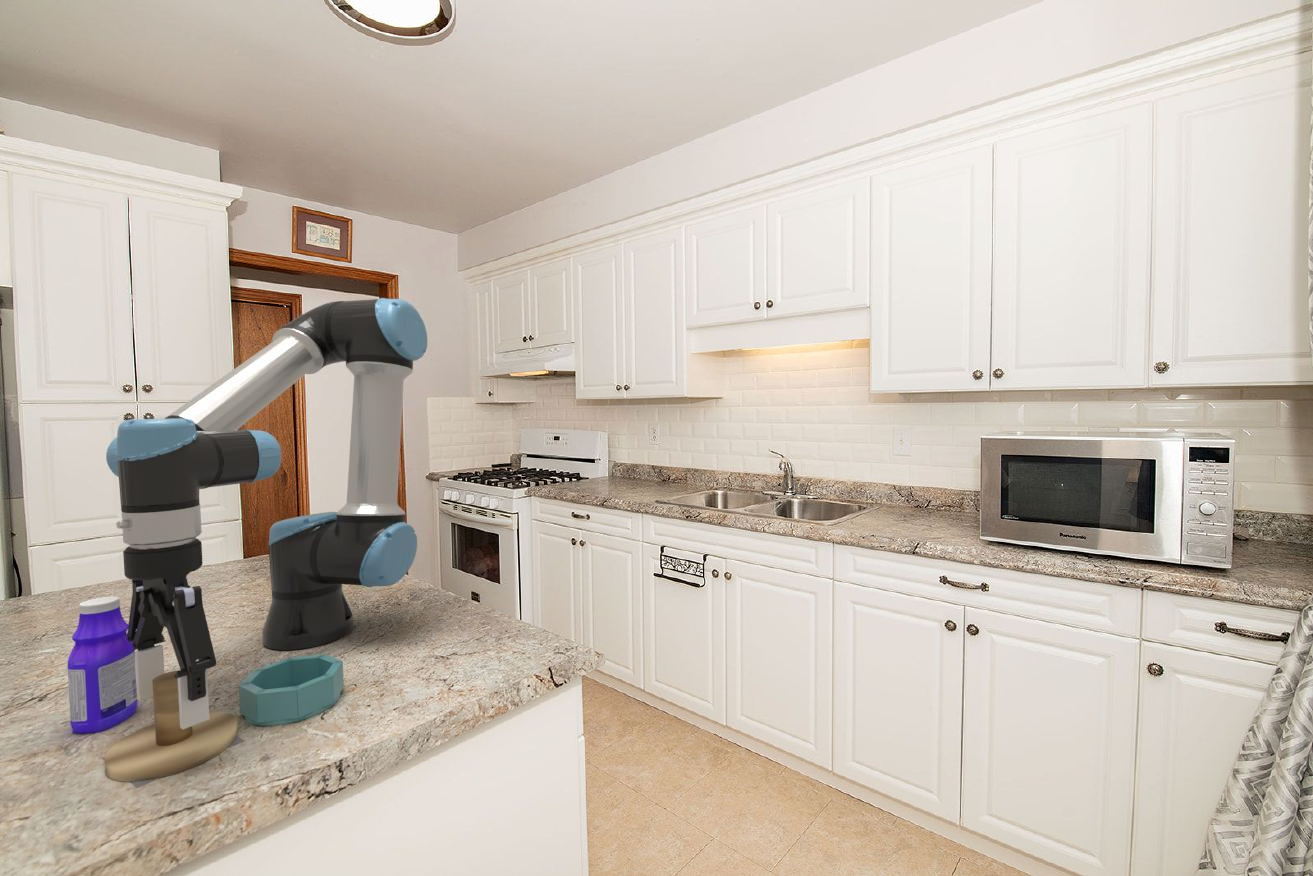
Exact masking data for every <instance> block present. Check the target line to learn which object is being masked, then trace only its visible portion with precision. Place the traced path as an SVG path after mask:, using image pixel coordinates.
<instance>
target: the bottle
mask: <svg viewBox="0 0 1313 876" xmlns="http://www.w3.org/2000/svg"><path fill="white" fill-rule="evenodd" d="M78 607H79V609H78V615H79V618H78V623H77V628H76V630H75V632H74V633H73V634H72V636H71V639H72V640H73V642H74V645H73V647H72V649H71V651H70V654H69V656H68V660H67V678H68V697H69V699H68V700H69V715H70V716H69V717H70V721H69V723H70V727H71V729H72V731H73V732H74V733H76V734H90V733H91V734H93V733H98V732H102V731H105V730H109V729H111V728H113V727H115V726H117V725H119V724H121V723H122V722H124V721H126V720H127V719H129V718H130V717H132V715H134V713H135V712H136V710H137V707H138V695H137V678H136V660H135V652H136V650H134V648H133V647H132V643H133V642H128V640H127V632H128V625H129V623H128V622H126V620H125V619H124V617H123V615H122V612H121V604H120V597H119V596H103V597H96V598H93V599H89V600H85V601H82V602H80V603H79V605H78Z"/></svg>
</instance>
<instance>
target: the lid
mask: <svg viewBox="0 0 1313 876" xmlns="http://www.w3.org/2000/svg"><path fill="white" fill-rule="evenodd" d="M180 670H181V669H179V670H173V671H169V672H164V674H162V675H159V676H157V677H155V678H154V679H153V680H152V684H153V698H152V699H153V701H152V702H153V715H154V723H152V724H150V725H148V726H144V727H143V728H141V729H137V730H136V731H134V732H131V734H128V735H126V736H125V737H123V738H121V739H120V740H119V741H117V742H116V743H115V744H114V745H112V746H111V747H110V748H109V749H108V751H107V752H106V754H105V755H104V757H105V760H104V768H105V770H104V771H105V774H106V776H107V778H109V779H110V780H112V781H117V782H122V783H123V782H127V783H131V782H134V781H144V780H151V779H156V778H159V779H160V778H164V777H168V776H172V775H175V774H178V773H181V772H184V771H187V770H189V769H192V768H195V767H197V766H199V765H201V764H203V763H206V762H207V761H210V760H211V759H213V758H214V757H216V756H218V755H219V754H221V753H223V752H224V751H225V750H227V749H228V748H227V747H229V746H230V745H231V744H232V743H233V742H234V740H235V739H236V737H237V736H238V735H239V734H238V732H239V730H238V719H237V718H236V716H235V715H233V714H232V713H230V712H225V711H218V710H217V711H216V710H214V711H211V710H209V719H208V720H206V721H203V722H201V723H198V724H196V725H193V726H191V727H188V728H185V729H181V728H180V714H179V696H178V678H177V679H176V678H175V677H174V675H175V674H176V672H177V671H180ZM226 748H227V749H226ZM156 780H157V779H156Z"/></svg>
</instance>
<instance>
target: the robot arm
mask: <svg viewBox="0 0 1313 876" xmlns="http://www.w3.org/2000/svg"><path fill="white" fill-rule="evenodd" d="M427 348H428V333H427V329H426V325H425V323H424V320H423V318H422V317H421V314H420V312H419V311H418V310H417V309H416V307H414V305H412V303H409V302H408V301H406V300H404V299H401V298H400V299H399V298H386V297H380V298H378V299H377V298H376V299H359V300H357V299H356V300H340V301H339V300H338V301H337V300H336V301H330V302H327V303H323V304H321V305H319V306H316V307H314V308H312V309H310V310H309V311H307V312H305V313H303V314H301V315H299V316H298V317H296V318H295V319H293V320H291V321H290V322H288V323H286V324H285V325H283V326H282V327H281V328H280V329H279V328H278V330H276V331H275V332H274V333H273V336H272V339H271V342H270V343H269V344H268V345H266V346H264V347H263V348H262V349H260V350H259V351H258V352H256V353H255V354H253V355H252V356H251V357H249V358H248V359H246V360H245V361H244V362H243V363H241V364H239V365H238V366H237V367H235V368H234V369H232V370H231V371H229V372H228V373H226V374H225V375H224V376H223V377H221V378H219V380H217V381H215V382H214V383H212V384H211V385H210V386H208V387H207V388H206V389H204V390H203V391H202V392H200V393H198V394H197V395H196V396H195V397H193V398H192V399H190V400H189V401H187V402H186V403H185V404H183V405H181V406H180V407H178V408H177V409H176V410H175V411H173V412H172V413H170V414H168V416H166V417H164V418H132V419H126V420H123V421H122V422H121V423H120V424H119V425H118V428H117V435H116V437H115V438H114V439H112V440H111V442H110V443H109V445H108V447H107V450H106V453H105V456H106V457H105V458H106V459H105V460H106V464H107V467H108V469H109V470H111V473H112V474H114V475H115V476H116V477H118V483H119V484H118V486H119V498H120V499H119V500H120V510H121V519H122V520H119V521H117V522H116V524H115V525H116V528H117V529H119V530H122V541H123V543H124V544H126V545H128V546H127V547H126V548H125V549H124V550H123V552H122V554H123V556H122V557H123V571H124V576H125V578H127V579H129V580H131V583H132V584H131V586H132V593H131V600H130V601H131V602H130V610H129V616H128V617H129V618H128V629H127V631H126V633H127V640H128V642H133V643H132V647H133V648H134V650H135V666H136V686H137V702H139V703H141V702H143V701H146V700H149V699H153V684H152V680H153V679H154V678H155V677H157V676H159V675H162V674H164V673H165V661H164V660H165V657H164V646H163V645H162V644H161V643H165V642H166V639H165V636H164V634H163V631H164V628H166V631H167V633H168V636H169V639H170V642H171V644H172V647H173V651H174V654H175V657H176V660H177V664H178V666H179V670H180V671H178V670H176V671H177V672H176V674H175V675H174V677H175V678H176V679H177V678H178V696H179V714H180V728H181V729H185V728H188V727H191V726H193V725H196V724H198V723H201V722H203V721H206V720H208V719H209V711H210V703H209V685H208V684H209V681H208V669H210V668H214V667H216V665H217V659H216V655H215V651H214V647H213V643H212V639H211V634H210V629H209V625H208V621H207V617H206V614H205V609H204V608H205V607H204V605H203V604H204V603H203V594H202V592H203V589H202V587H201V586H200V585H196V586H192V587H191V585H189V582H188V579H187V576H188V575H190V573H193V572H196V571H198V570H200V569H201V567H202V566H203V546H202V545H203V544H202V541H201V540H200V539H198V538H197V537H199V536H200V535H201V534H202V532H203V530H202V517H201V515H202V513H201V504H200V490H203V489H208V488H216V487H222V486H223V487H225V486H230V485H239V484H240V485H241V484H246V483H248V484H253V483H254V482H258V481H262V480H266V479H267V480H268V479H269V478H271V477H272V476H274V475H276V473H277V471H278V470H279V468H280V466H281V463H282V450H281V449H282V448H281V445H280V443H279V442H278V440H277V439H276V437H274V436H273V435H272V434H271V433H269V432H267V431H263V430H250V429H241V430H239V429H240V428H241V427H242V426H244V425H245V424H246V423H247V422H248V421H250V420H251V419H252V418H254V417H255V416H257V414H258V413H259V412H261V411H262V410H263V409H265V408H266V407H267V406H269V404H271V403H272V402H273V401H274V400H276V399H277V398H278V397H279V396H281V395H282V394H283V393H284V392H286V391H287V390H288V389H289V388H291V386H293V385H294V384H296V383H298V381H299V380H300V379H302V377H304V376H305V375H313V374H316V373H318V372H319V371H321V370H322V369H323V368H325V367H326V366H329V365H332V364H338V363H341V362H344V363H345V367H346V369H347V370H348V371H349V372H350V373H352V375H353V391H352V405H351V406H352V411H351V421H350V422H351V423H350V437H349V438H350V440H349V442H350V443H349V454H348V455H349V456H348V457H349V459H348V470H347V471H348V475H347V476H348V477H347V488H346V489H347V490H346V491H347V493H346V503H345V505H344V506H342V507H341V509H339V510H338V511H327V512H326V511H325V512H318V513H312V514H308V515H307V514H306V515H300V516H296V517H290V518H286V519H282V520H280V521H275V522H274V523H273V524H272V526H271V527H270V528H269V532H268V533H269V536H268V537H269V539H268V544H267V545H268V546H267V547H268V557H269V574H270V584H271V585H270V587H271V588H270V589H271V602H270V606H269V608H268V613H267V615H266V619H265V622H264V625H263V628H262V633H261V635H262V645H263V646H264V647H265V648H266V649H267V648H268V649H270V650H275V651H276V650H280V651H290V650H302V649H308V648H314V647H317V646H321V645H322V646H323V645H325V644H329V643H331V642H335V641H338V640H339V639H342V638H344V637H345V636H347V635H349V634H350V633H351V632H352V631H353V630H354V626H355V624H354V615H353V612H352V610H351V608H350V606H349V603H348V600H347V598H346V595H345V594H344V591H343V585H352V586H362V587H367V588H373V587H389V586H391V585H392V586H393V585H395V584H396V583H397V582H399V581H400V580H402V579H403V578H404V577H405V576H406V575H407V573H408V571H409V570H410V569H411V567H412V566H413V563H414V561H415V558H416V554H417V550H418V536H417V534H416V533H415V532H416V531H415V529H414V527H413V526H412V525H411V524H409V523H408V522H405V520H406V511H405V510H403V509H402V507H400V505H399V503H398V493H399V492H398V491H399V489H398V488H399V475H400V473H399V472H400V452H401V436H402V435H401V433H402V418H403V417H402V416H403V415H402V414H403V398H404V397H403V396H404V381H405V379H406V378H407V377H409V376H410V375H412V374H413V372H414V371H413V369H414V368H413V367H414V362H415V361H418V360H419V359H421V358H423V357H424V355H425V354H426V351H427ZM157 644H158V645H157Z"/></svg>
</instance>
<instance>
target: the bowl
mask: <svg viewBox="0 0 1313 876" xmlns="http://www.w3.org/2000/svg"><path fill="white" fill-rule="evenodd" d="M344 686H345V684H344V663H343V660H342V659H339V658H336V657H334V656H330V655H328V654H325V653H323V654H313V655H311V654H310V655H305V656H304V655H302V656H300V655H299V656H292V657H287V658H284V659H281V660H278V661H276V662H272V663H270V664H268V665H264V666H261V667H258V668H256V669H254V670H252V672H250V673H249V675H247V676H246V677H245V678H244V679H243V680H242V681H241V682H240V683H239V684H238V694H239V695H238V697H239V700H238V701H239V714H241V715H243V716H244V720H245V721H246V722H247V723H249V724H251V725H254V726H260V727H270V726H271V727H272V726H273V727H274V726H283V725H287V724H288V725H289V724H292V723H297V722H300V721H303V720H306V719H309V718H312V717H314V716H317V715H319V714H321V713H323V712H325V711H327V710H328V709H330V708H331V707H333V706H334V705H335V704H336V703H337V702H338V701H339V699H340V698H341V695H342V694H341V692H342V690H343V689H344Z"/></svg>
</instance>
